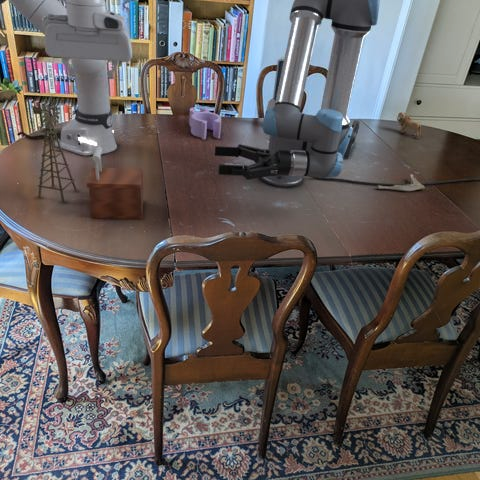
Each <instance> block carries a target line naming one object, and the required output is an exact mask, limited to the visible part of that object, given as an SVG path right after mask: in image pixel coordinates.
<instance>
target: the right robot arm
mask: <svg viewBox="0 0 480 480" xmlns="http://www.w3.org/2000/svg"><path fill="white" fill-rule="evenodd" d="M380 4H381V0H294V1H293V2H292V6H291V9H290V13H289V21H290V23H291V26H290V30H289V34H288V40H287V45H286V49H285V52H284V53H285V54H284V57H285V58H284V63H283V68H282V72H281V77H280V82H279V87H278V91H277V96H276V101H275V106H274V108H272V109H270V108H269V109H267V108H266V109H267V110H265V113H264V116H263V122H262V131H263V133H264V134H265V135H267V136H269V140H268V148H267V149H266V148H260V147H254V146H250V145H246V144H238V145H237V146H219V145H217V146H216V145H215V147H214V156H215V157H230V158H231V157H234V158H239V157H241V158H243V159H246V160H250V161H253V162H254V163H252V164H249V165H245V164H243V165H241V164H218V173H217V174H218V176H240V177H241V176H242V177H243V178H245V180H247V181H251V180H255V179H260V180H262V181H263V182H264V183H266V184H268V185H271V186H274V187H278V188H293V187H297V186H299V185H300V184H302V181H303V177H307V178H310V179H311V178H312V179H315V180H320V181H321V180H324V181H338V182H345V183H352V184H359V185H360V184H362V185H370V186H378V185H380V186H387V187H393V186H394V185H409V184H410V185H411V183H381V182H368V181H360V180H352V179H344V178H337V177H339V176H340V175H341V173H342V172H343V167H344V166H343V163H344V158H343V156H344V154H345V152H346V149H347V146H348V144H349V141H350V137H351V134H352V130H353V128H352V125H350V123H351V121H350V119H349V117H348V116H347V115H348V110H349V106H350V100H351V96H352V91H353V87H354V83H355V78H356V73H357V69H358V65H359V59H360V57H361V56H360V55H361V51H362V46H363V41H364V39H365V36H367V35H368V34H369V33H370V32H371V29H372V27H375V26H377V25H378V20H379V12H380ZM323 19H325V20H330V21H331V25H330V28H331V29H332V31H333V33H334V36H333V40H332V48H331V50H330V51H331V53H330V56H329V62H328V67H327V73H326V79H325V83H324V88H323V94H322V100H321V105H320V109H319V110H318V111H317V113H316V114H315V115H314V114H307V113H304V112H301V108H302V107H301V106H302V103H303V99H304V93H305V89H306V83H307V79H308V75H309V69H310V65H311V60H312V56H313V51H314V45H315V40H316V36H317V31H318V28H319V27H321V26H322V24H323ZM473 181H480V178H477V177H476V178H461V179H450V180H441V181H432V182H431V181H430V182H420V183H421V184H422V185H424V186H428V185H429V186H430V185H440V184H448V183H457V182H458V183H459V182H473Z"/></svg>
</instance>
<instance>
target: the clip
mask: <svg viewBox="0 0 480 480" xmlns="http://www.w3.org/2000/svg"><path fill="white" fill-rule="evenodd" d="M188 119H189V120H188V121H189V122H188V125H189V127H190V134H191V135H193V136H195V137H197V138H201V140H206V139H207V130H211V131H213V132H212V137H213V138H215V139H218V140H219V139H221V131H222V116H221V115H219V114H217V113H215V112H211V111H210V109H209V108H206V107H203V106H200V107H199V111H196V108H195V107H190V108H189V118H188Z"/></svg>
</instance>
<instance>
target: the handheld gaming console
mask: <svg viewBox="0 0 480 480" xmlns="http://www.w3.org/2000/svg"><path fill="white" fill-rule="evenodd" d="M360 123H361V122H360V120H358V119H354V120H353V122H352V124H351V127H352V128H353V130H352V134H351V137H350V141H349V144H348V146H347V149H346V152H345V154H344V156H343V159H349V158H350V156H351V153H352V151H353V148H354V145H355V144H356V141H357V136H358V133H359V129H360Z"/></svg>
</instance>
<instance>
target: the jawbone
mask: <svg viewBox="0 0 480 480" xmlns="http://www.w3.org/2000/svg"><path fill="white" fill-rule="evenodd" d="M409 179H410V183H408V184H409V185H394V186H384V185H376V188H377V189H380V190H391V191H400V192H409V193H410V192H415V191H419V190H425V189H426V187H425V185H422V184H421V183H422V182H419V181H418V179H417V177H415V176H414V174H413V173H410V174H409ZM410 184H411V185H410Z"/></svg>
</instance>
